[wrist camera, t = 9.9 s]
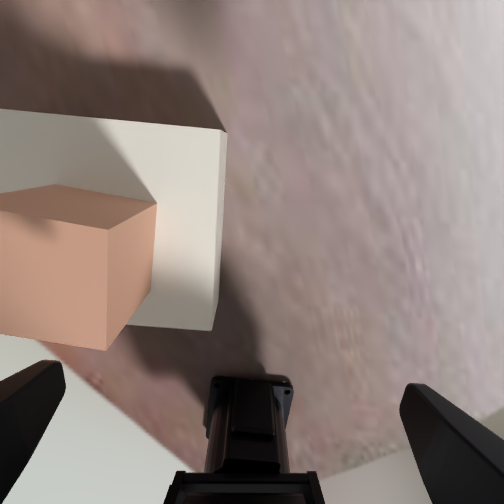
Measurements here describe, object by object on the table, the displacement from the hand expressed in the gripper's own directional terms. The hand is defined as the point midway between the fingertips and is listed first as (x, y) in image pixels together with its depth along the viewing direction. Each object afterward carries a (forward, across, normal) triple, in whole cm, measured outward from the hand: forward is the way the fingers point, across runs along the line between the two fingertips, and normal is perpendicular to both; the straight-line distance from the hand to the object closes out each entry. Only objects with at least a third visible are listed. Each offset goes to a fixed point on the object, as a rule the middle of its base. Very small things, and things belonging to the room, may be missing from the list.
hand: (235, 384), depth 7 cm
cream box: (+12, +7, -1) cm, 14 cm away
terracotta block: (+8, +7, -1) cm, 11 cm away
